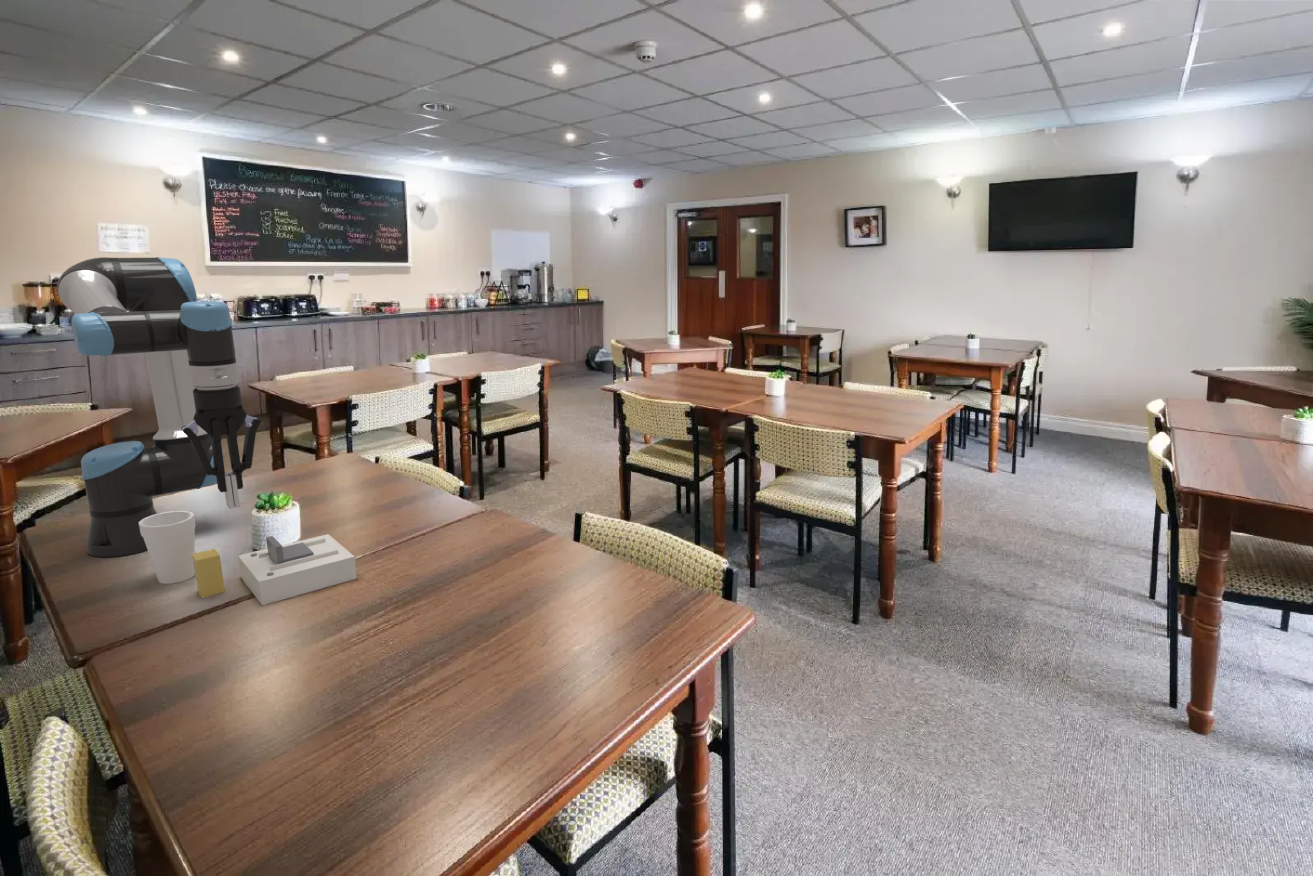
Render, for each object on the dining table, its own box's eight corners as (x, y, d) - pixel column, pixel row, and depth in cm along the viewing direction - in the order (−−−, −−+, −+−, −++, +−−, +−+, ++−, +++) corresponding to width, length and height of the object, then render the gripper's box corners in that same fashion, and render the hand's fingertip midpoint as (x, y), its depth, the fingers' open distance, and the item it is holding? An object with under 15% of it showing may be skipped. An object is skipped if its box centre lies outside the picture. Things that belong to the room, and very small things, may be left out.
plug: (197, 591, 142) (191, 554, 140) (220, 585, 145) (214, 548, 143) (202, 598, 139) (196, 560, 137) (225, 592, 142) (219, 555, 140)
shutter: (268, 555, 146) (265, 537, 145) (303, 546, 151) (301, 529, 150) (277, 565, 142) (275, 547, 141) (313, 556, 146) (311, 538, 145)
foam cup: (176, 589, 142) (166, 529, 139) (137, 584, 144) (126, 525, 141) (213, 569, 152) (204, 512, 148) (176, 565, 153) (167, 509, 150)
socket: (241, 577, 148) (237, 552, 147) (330, 554, 160) (327, 530, 158) (262, 605, 137) (258, 577, 135) (356, 578, 148) (354, 553, 147)
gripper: (177, 393, 124) (197, 519, 130) (261, 385, 133) (276, 503, 139) (170, 387, 129) (189, 508, 135) (250, 379, 138) (265, 494, 144)
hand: (233, 506), depth 137 cm, fingers closed
